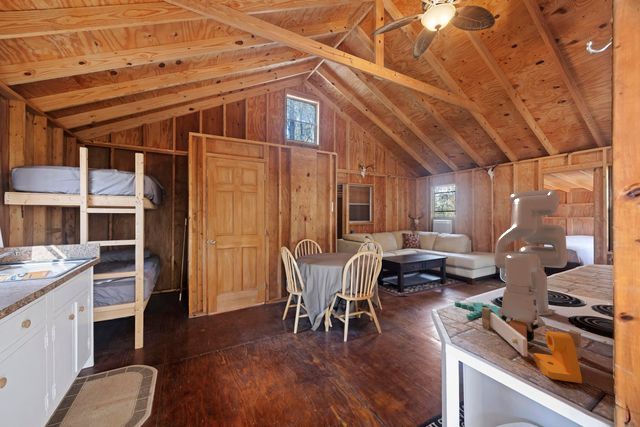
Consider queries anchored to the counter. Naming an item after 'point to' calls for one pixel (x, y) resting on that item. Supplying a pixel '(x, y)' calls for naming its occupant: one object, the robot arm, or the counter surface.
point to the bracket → (559, 358)
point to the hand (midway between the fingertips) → (520, 337)
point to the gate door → (509, 334)
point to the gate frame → (575, 336)
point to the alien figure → (477, 309)
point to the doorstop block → (519, 327)
